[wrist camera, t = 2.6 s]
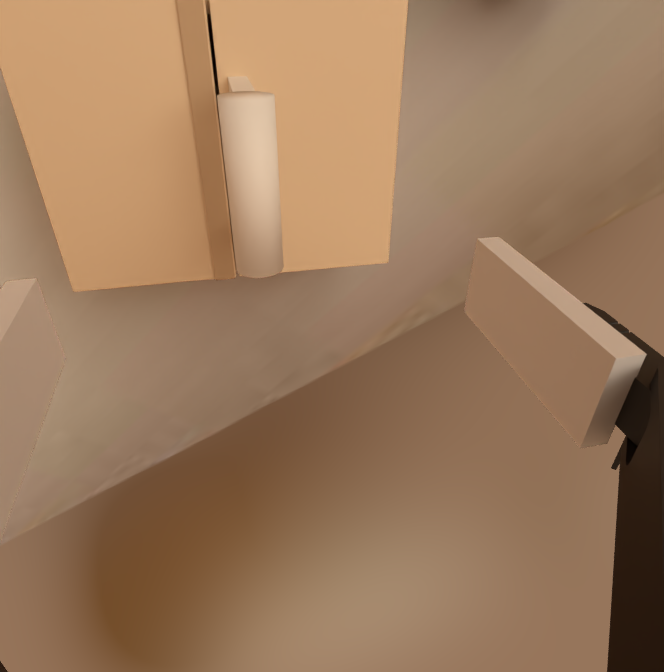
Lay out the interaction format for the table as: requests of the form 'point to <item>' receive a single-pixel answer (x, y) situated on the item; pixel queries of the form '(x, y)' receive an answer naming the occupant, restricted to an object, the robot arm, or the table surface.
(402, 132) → the table surface
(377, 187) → the flap
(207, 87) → the panel
